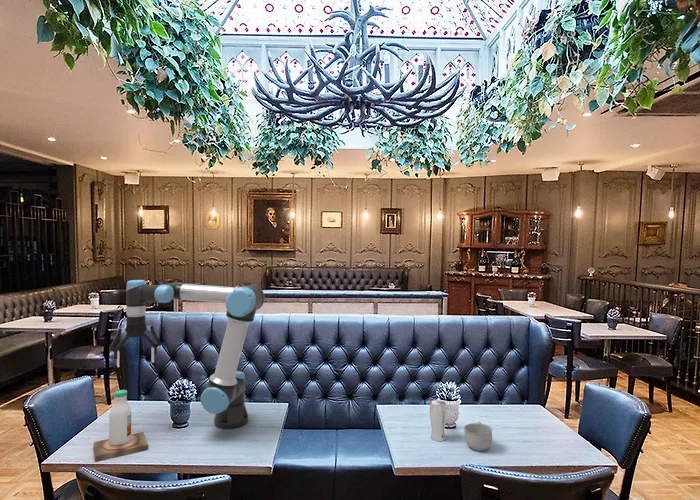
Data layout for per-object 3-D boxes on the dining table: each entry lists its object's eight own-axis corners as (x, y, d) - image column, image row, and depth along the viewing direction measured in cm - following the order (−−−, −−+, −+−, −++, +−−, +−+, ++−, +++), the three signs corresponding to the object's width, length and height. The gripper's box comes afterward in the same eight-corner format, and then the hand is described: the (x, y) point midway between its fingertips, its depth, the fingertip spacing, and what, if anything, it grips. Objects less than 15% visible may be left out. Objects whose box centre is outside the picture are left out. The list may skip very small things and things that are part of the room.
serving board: (143, 436, 180) (143, 430, 180) (148, 449, 168) (148, 443, 168) (93, 447, 170) (93, 440, 170) (95, 461, 158) (95, 454, 158)
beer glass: (428, 440, 177) (428, 404, 177) (431, 433, 184) (431, 398, 184) (445, 443, 175) (445, 406, 175) (447, 436, 182) (447, 400, 182)
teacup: (488, 456, 164) (488, 435, 164) (460, 449, 170) (460, 429, 170) (496, 442, 176) (496, 423, 176) (470, 436, 181) (470, 417, 181)
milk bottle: (121, 447, 164) (122, 395, 164) (104, 445, 166) (104, 393, 166) (135, 438, 172) (136, 388, 172) (118, 436, 173) (119, 387, 173)
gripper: (165, 312, 196) (164, 358, 196) (102, 316, 182) (102, 366, 182) (168, 314, 190) (167, 362, 190) (103, 319, 176) (103, 370, 176)
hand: (135, 364), depth 186 cm, fingers open, 13 cm apart
